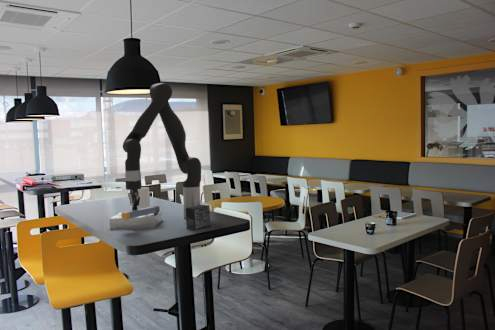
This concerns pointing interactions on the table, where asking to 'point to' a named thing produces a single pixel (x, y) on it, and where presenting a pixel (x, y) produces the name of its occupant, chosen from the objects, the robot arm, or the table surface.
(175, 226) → the table surface
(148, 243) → the table surface
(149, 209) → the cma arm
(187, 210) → the small box
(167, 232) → the table surface
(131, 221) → the chassis
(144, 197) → the cup
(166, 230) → the table surface
